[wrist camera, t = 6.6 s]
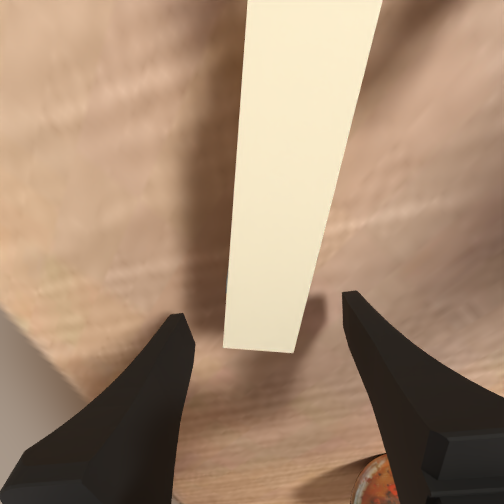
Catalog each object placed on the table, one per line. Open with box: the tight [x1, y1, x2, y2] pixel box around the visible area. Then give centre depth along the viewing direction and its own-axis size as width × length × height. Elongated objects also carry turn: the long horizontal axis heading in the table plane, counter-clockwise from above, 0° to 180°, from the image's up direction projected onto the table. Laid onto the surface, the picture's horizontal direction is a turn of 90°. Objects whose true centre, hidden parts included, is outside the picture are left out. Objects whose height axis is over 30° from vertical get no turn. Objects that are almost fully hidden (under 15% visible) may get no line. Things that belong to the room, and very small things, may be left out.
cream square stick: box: [223, 0, 383, 353], centre depth 10 cm, size 3×10×4 cm, turn 174°
